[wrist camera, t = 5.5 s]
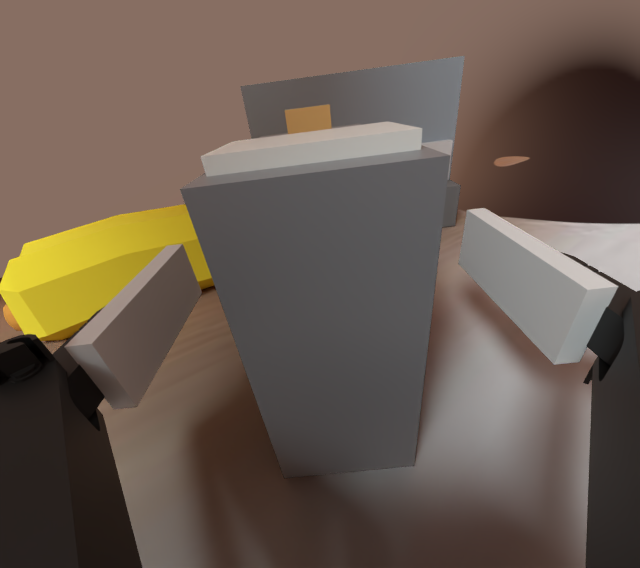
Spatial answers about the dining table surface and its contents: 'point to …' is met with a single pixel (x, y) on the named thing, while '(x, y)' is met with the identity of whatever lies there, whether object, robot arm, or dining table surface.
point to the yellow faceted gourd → (91, 269)
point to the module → (327, 282)
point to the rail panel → (372, 104)
